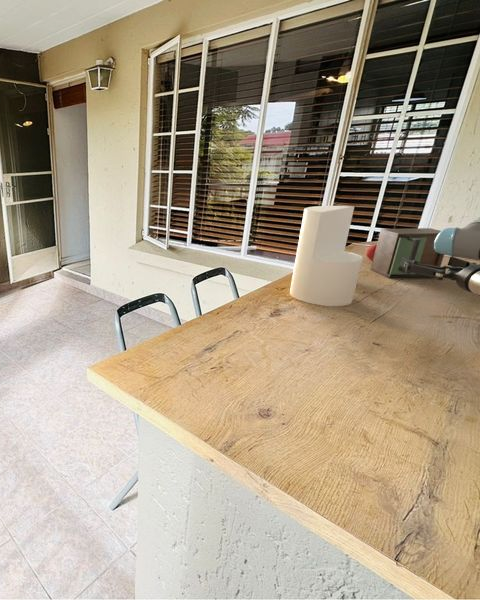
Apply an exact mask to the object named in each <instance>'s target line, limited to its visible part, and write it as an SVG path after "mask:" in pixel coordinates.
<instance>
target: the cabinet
mask: <svg viewBox="0 0 480 600" xmlns="http://www.w3.org/2000/svg"><path fill="white" fill-rule="evenodd" d="M441 231H442V230H439V229H434V228H432V227H423V228H422V227H421V228H418V227H417V228H381V229H380V231H379V235H378V240H377V243H376V244H377V247H376V251H375V255H374V258H373V261H371V262H372V263H371V267H370V270H371V271H373V272H375V273H377V274H379V275H381V276H384V277H385V278H387V279H433V280H434V279H435V280H437V279H436V278H433V277H429V276H424V275H420V274H416V275H396V274H389V273H390V270H391V266H392V262H393V259H394V255H395V252H396V248H397V245H398V241H399V238H408V237H412V238H420V237H426V238H427V239H426V243H425V246H424V249H423V252H422V256H421V259H420V262H419V263H420V264H426V265H433V266H439V267H442V263H443V261H444V260H443V259H444V257H445V255H444V254H440V253H437V252H436V251H435V249H434V242H435V239H436V237H437V235H438V234H439V233H440V232H441Z"/></svg>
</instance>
